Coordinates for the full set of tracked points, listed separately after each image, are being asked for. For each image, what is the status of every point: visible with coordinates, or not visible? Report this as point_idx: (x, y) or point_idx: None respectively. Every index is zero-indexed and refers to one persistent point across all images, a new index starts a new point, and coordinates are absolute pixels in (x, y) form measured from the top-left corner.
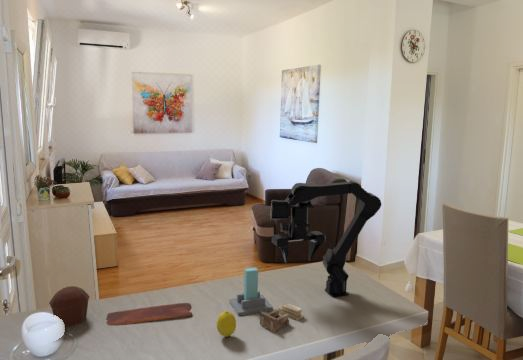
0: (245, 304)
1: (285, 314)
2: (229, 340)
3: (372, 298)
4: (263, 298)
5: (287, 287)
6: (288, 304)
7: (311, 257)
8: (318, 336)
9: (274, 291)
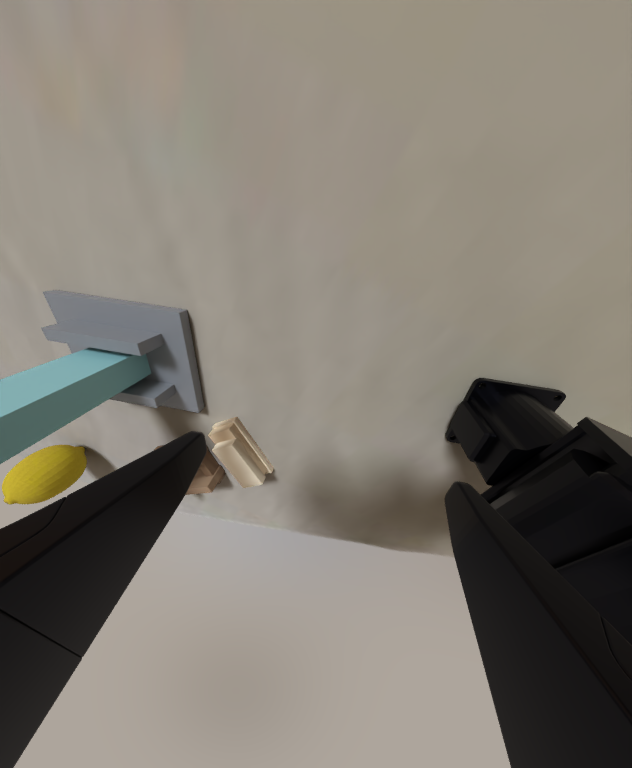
0: None
1: (204, 488)
2: (91, 458)
3: None
4: (150, 405)
5: (338, 262)
6: (234, 453)
7: (463, 553)
8: (266, 521)
9: (255, 278)
